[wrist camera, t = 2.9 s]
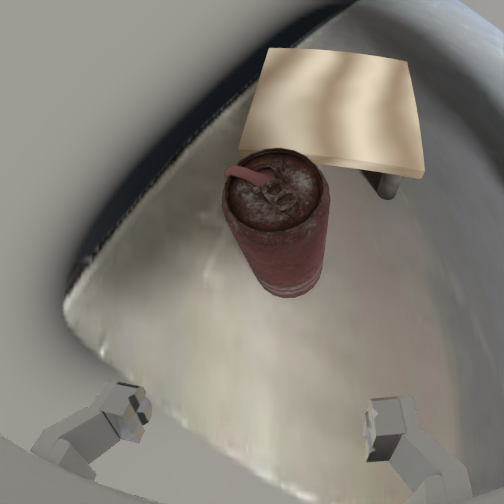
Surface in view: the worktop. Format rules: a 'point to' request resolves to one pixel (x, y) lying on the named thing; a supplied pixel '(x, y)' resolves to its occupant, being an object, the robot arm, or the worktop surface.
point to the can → (279, 218)
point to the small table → (338, 113)
